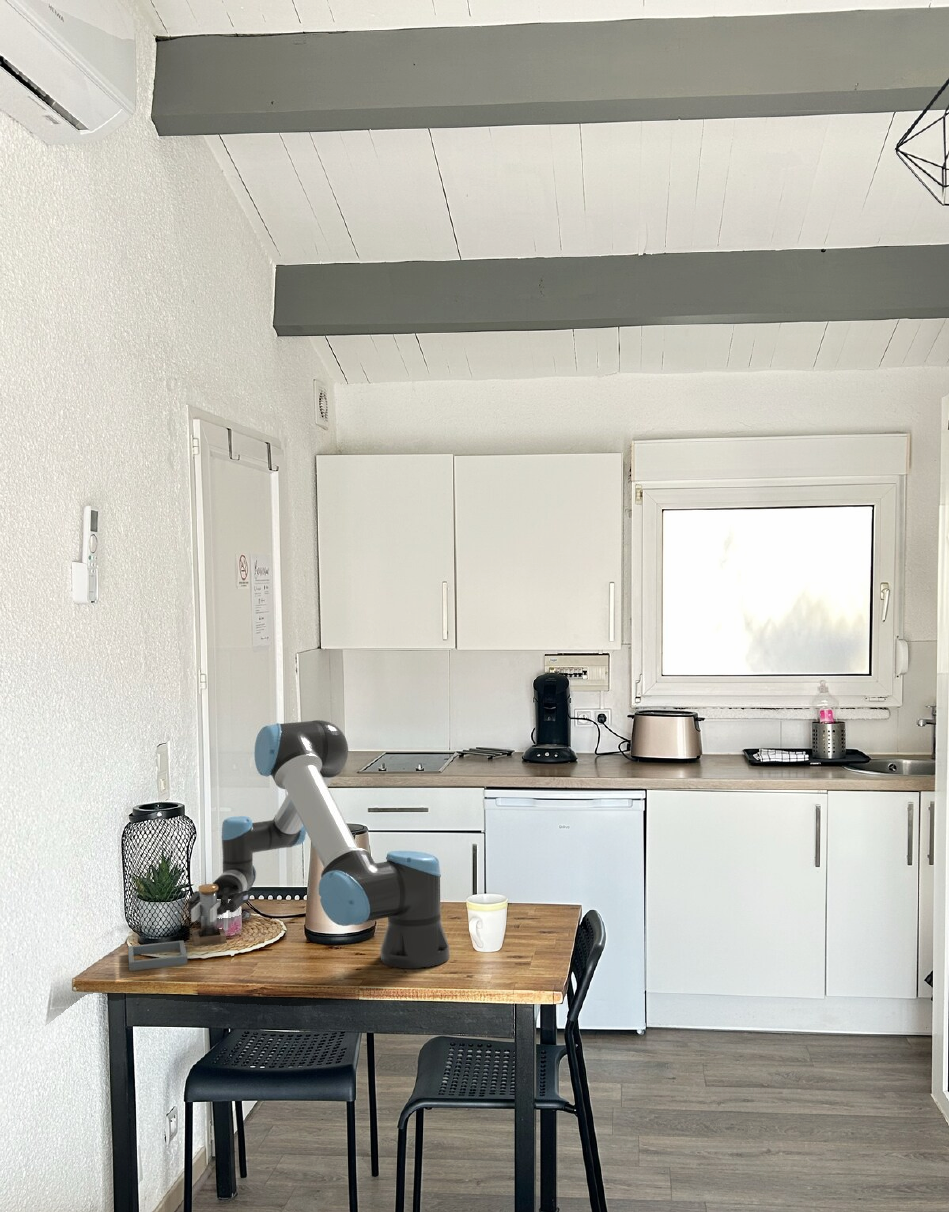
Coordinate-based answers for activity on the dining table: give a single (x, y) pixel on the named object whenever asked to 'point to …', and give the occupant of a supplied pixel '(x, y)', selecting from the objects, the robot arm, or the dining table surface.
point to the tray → (157, 961)
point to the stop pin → (208, 909)
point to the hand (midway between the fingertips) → (202, 915)
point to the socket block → (209, 938)
